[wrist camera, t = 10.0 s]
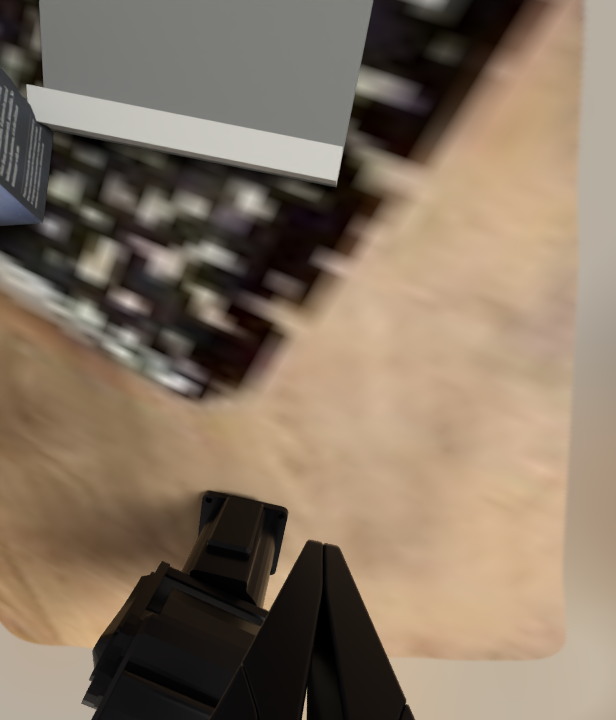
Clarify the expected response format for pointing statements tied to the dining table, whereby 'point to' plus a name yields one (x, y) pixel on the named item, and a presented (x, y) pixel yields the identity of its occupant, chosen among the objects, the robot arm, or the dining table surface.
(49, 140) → the small box
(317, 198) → the dining table surface
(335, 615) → the robot arm
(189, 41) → the mat
